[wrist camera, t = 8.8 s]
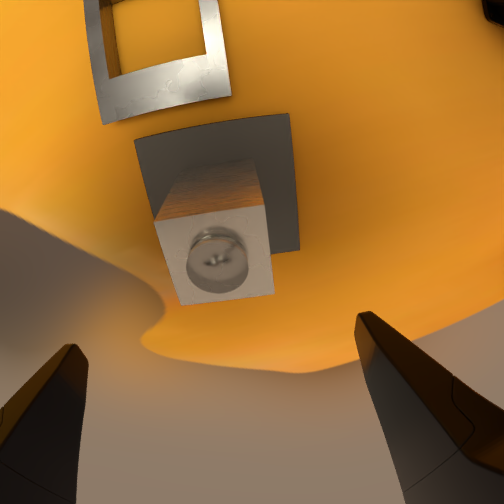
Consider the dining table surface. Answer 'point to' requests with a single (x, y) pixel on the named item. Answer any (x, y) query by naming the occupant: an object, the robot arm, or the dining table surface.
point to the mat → (224, 150)
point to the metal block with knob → (216, 234)
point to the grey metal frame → (153, 68)
